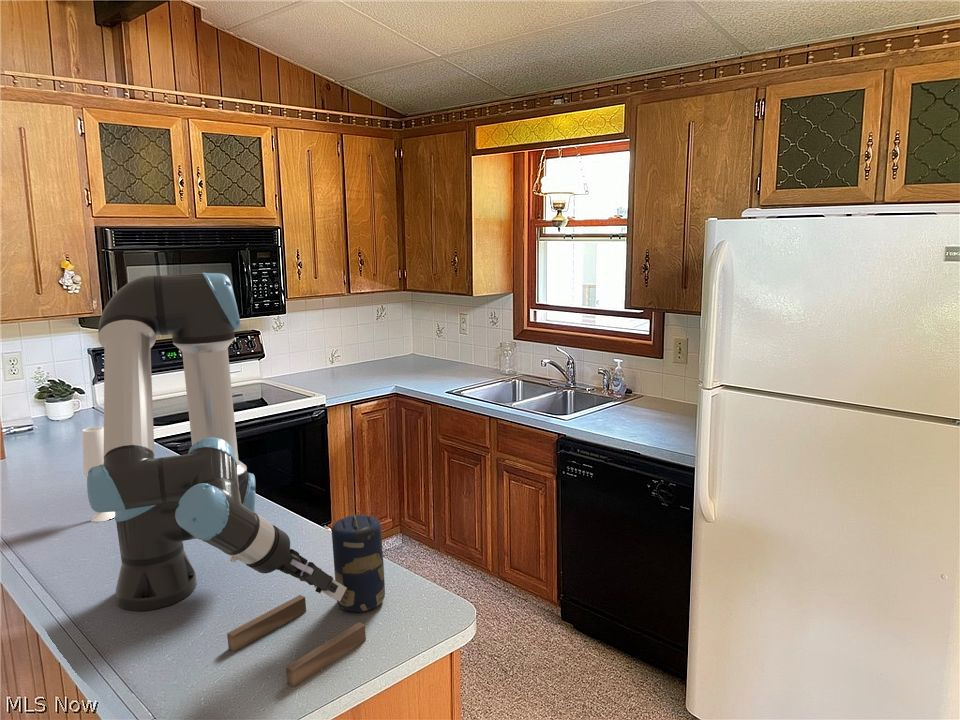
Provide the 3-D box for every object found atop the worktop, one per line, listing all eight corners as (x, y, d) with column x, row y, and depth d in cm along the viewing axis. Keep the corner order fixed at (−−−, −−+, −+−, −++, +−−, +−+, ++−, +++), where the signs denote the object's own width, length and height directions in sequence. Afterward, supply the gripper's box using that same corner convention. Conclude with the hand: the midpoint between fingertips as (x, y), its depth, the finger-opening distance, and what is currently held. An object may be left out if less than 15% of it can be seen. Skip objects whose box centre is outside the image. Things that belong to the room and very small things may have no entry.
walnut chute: (228, 648, 125) (227, 633, 124) (301, 608, 137) (299, 594, 136) (293, 687, 114) (292, 670, 113) (365, 640, 126) (364, 625, 125)
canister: (388, 589, 143) (383, 506, 140) (383, 614, 134) (378, 526, 131) (341, 591, 143) (335, 508, 140) (332, 617, 134) (326, 528, 130)
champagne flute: (124, 512, 186) (113, 425, 182) (109, 522, 180) (97, 432, 175) (100, 511, 187) (89, 425, 183) (84, 522, 181) (71, 432, 176)
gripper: (223, 554, 119) (308, 602, 135) (270, 576, 111) (354, 623, 127) (247, 514, 122) (327, 565, 138) (295, 532, 114) (374, 584, 130)
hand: (340, 593), depth 133 cm, fingers closed
